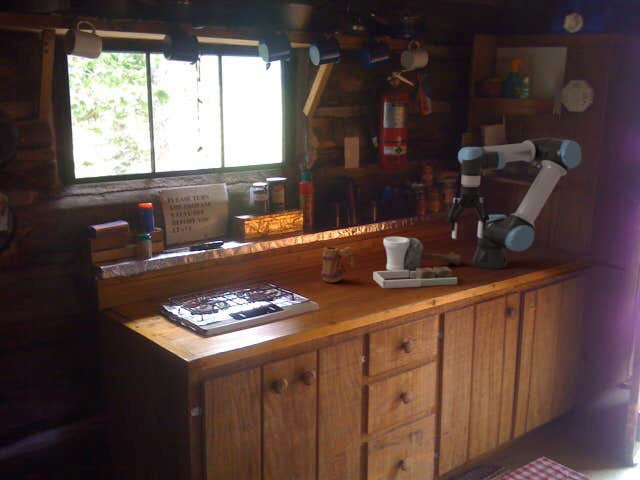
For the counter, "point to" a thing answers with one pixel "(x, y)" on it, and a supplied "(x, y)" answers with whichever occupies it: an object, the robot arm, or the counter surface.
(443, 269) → the chip
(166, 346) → the counter surface
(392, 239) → the cup
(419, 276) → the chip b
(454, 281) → the slot rails
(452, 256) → the hammer
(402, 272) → the tray frame
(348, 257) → the mug
